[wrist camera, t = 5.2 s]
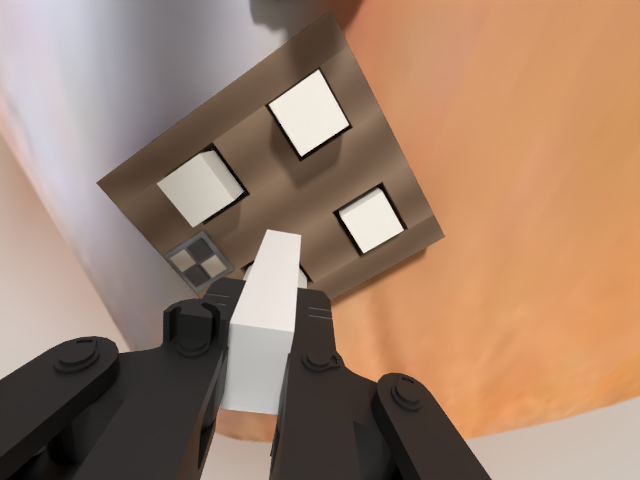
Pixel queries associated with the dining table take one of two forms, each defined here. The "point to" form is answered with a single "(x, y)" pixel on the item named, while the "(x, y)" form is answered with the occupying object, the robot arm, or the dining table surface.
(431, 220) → the board
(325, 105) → the button
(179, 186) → the button
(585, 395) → the dining table surface
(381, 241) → the button
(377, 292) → the dining table surface
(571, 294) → the dining table surface
